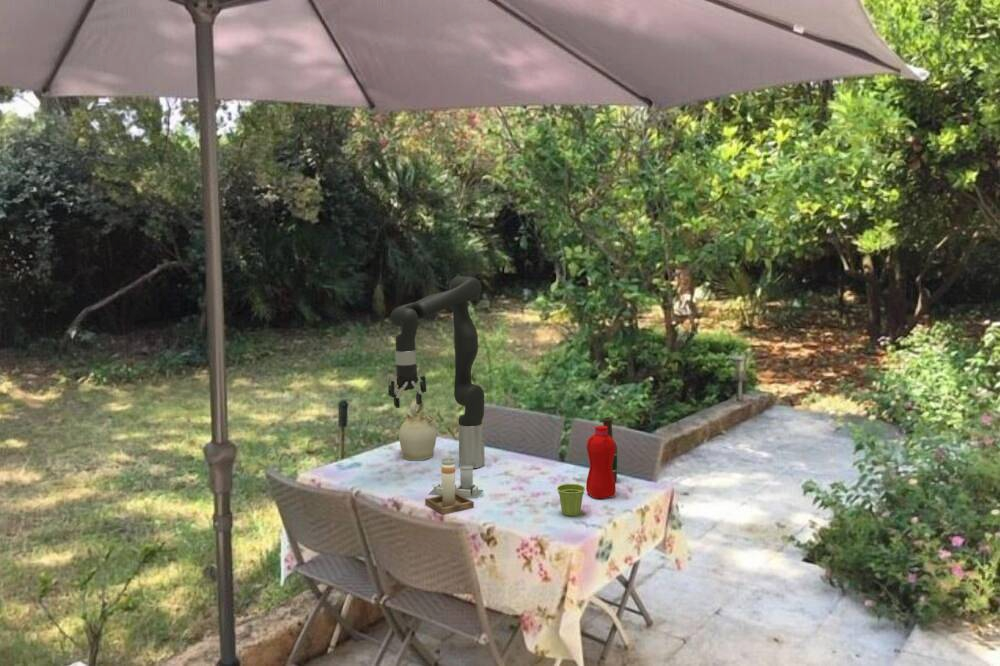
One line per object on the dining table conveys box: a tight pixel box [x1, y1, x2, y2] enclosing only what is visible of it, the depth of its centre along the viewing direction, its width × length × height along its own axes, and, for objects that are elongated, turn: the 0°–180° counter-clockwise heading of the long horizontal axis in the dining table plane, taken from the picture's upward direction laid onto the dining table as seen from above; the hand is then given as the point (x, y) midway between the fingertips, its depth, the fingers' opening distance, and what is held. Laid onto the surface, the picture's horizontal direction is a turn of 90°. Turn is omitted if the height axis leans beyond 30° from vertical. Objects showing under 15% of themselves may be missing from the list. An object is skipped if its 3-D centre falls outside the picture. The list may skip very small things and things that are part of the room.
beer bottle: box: [602, 416, 618, 483], centre depth 302 cm, size 8×8×24 cm
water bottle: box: [585, 425, 617, 500], centre depth 287 cm, size 9×11×25 cm
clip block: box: [427, 482, 484, 499], centre depth 290 cm, size 18×9×3 cm, turn 76°
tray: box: [424, 492, 475, 516], centre depth 276 cm, size 12×12×3 cm
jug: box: [398, 397, 437, 461], centre depth 336 cm, size 15×16×25 cm
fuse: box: [459, 464, 474, 494], centre depth 289 cm, size 4×4×10 cm
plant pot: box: [556, 483, 586, 517], centre depth 270 cm, size 9×9×9 cm
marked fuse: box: [440, 457, 456, 507], centre depth 275 cm, size 5×5×16 cm
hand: (408, 405), depth 298 cm, fingers open, 8 cm apart
